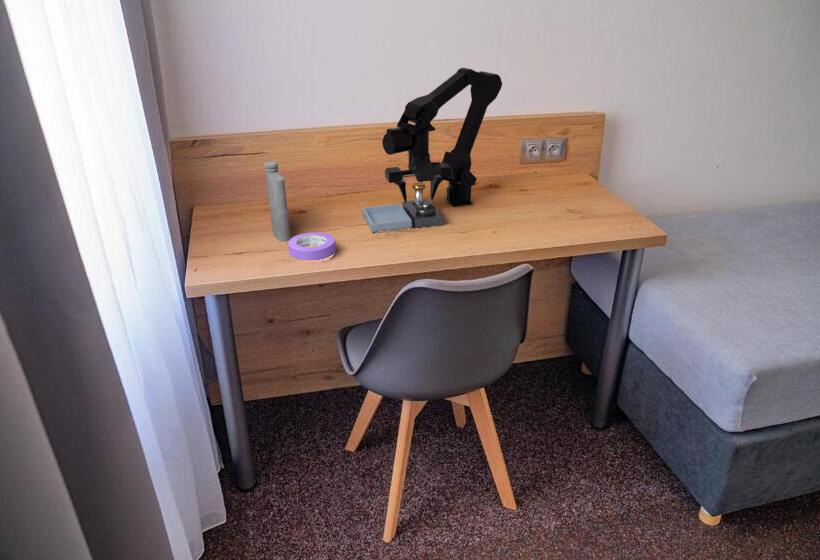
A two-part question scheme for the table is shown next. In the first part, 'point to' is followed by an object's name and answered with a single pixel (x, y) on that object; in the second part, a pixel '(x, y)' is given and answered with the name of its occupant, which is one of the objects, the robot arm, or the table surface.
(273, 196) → the hip flask
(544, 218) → the table surface
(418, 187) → the lock pin
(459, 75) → the robot arm
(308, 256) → the masking tape
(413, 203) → the grey holder base
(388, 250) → the table surface
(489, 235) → the table surface
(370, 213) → the tray
